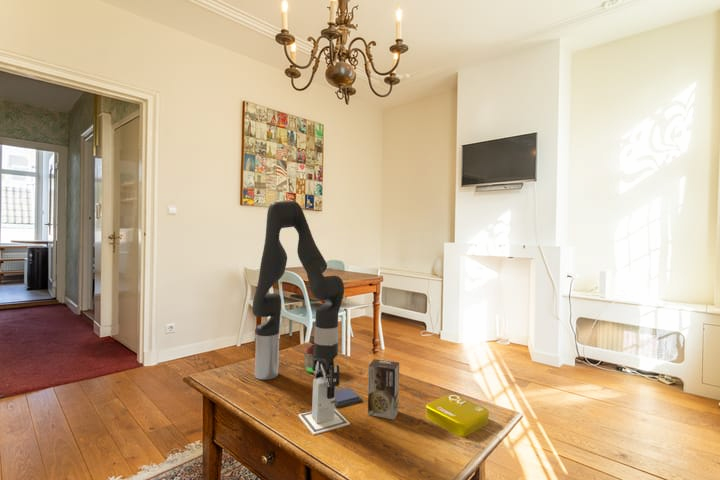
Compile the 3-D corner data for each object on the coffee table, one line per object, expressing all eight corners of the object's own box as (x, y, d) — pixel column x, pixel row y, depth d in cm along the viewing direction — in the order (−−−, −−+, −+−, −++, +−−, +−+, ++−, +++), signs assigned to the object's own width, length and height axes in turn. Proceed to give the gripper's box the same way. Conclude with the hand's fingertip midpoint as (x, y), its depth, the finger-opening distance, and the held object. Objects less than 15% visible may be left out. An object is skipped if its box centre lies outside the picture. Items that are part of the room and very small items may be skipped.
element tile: (422, 417, 110) (423, 403, 110) (451, 404, 119) (451, 391, 119) (462, 440, 98) (463, 423, 98) (490, 423, 107) (491, 408, 107)
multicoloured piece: (303, 364, 152) (303, 330, 152) (331, 363, 153) (332, 330, 153) (301, 374, 140) (302, 338, 140) (332, 374, 142) (333, 338, 142)
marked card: (298, 415, 108) (298, 414, 108) (332, 407, 114) (332, 405, 114) (313, 435, 97) (313, 433, 97) (349, 424, 104) (349, 422, 104)
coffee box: (398, 410, 113) (400, 362, 113) (394, 420, 107) (395, 369, 107) (372, 405, 116) (373, 358, 116) (366, 414, 110) (368, 364, 110)
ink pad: (323, 395, 122) (323, 391, 122) (348, 390, 127) (348, 385, 127) (336, 407, 114) (336, 403, 114) (361, 401, 119) (362, 396, 119)
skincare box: (317, 424, 102) (318, 384, 102) (311, 417, 106) (312, 378, 106) (335, 419, 106) (336, 380, 106) (328, 412, 109) (329, 375, 109)
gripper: (306, 335, 110) (304, 385, 110) (325, 349, 98) (323, 405, 98) (327, 333, 114) (325, 381, 114) (347, 345, 102) (346, 399, 102)
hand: (324, 392), depth 106 cm, fingers open, 8 cm apart
